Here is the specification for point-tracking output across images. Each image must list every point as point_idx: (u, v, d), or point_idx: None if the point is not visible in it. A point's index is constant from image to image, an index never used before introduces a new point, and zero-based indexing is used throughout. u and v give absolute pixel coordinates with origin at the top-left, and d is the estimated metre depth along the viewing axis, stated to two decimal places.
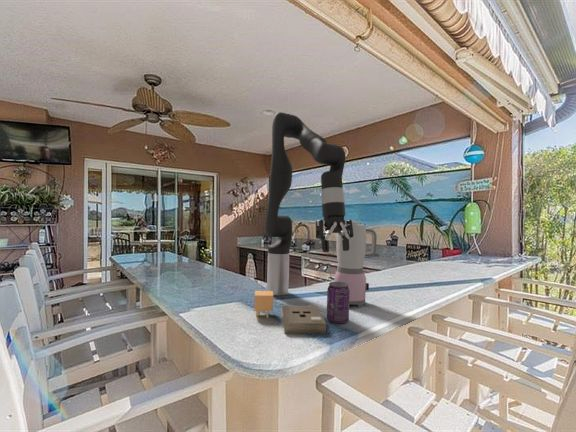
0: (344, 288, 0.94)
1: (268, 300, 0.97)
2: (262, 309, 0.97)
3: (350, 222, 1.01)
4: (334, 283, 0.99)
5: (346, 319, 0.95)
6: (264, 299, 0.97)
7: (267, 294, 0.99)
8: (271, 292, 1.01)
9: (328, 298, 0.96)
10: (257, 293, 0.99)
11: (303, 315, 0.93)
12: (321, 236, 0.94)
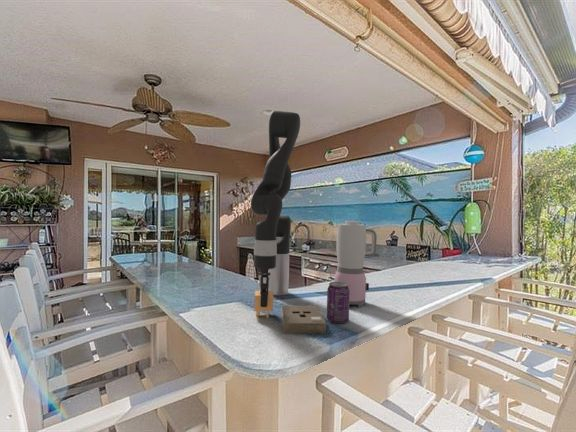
0: (344, 288, 0.94)
1: (268, 300, 0.97)
2: (262, 309, 0.97)
3: (260, 279, 0.94)
4: (334, 283, 0.99)
5: (346, 319, 0.95)
6: None
7: None
8: (271, 292, 1.01)
9: (328, 298, 0.96)
10: (257, 293, 0.99)
11: (303, 315, 0.93)
12: None
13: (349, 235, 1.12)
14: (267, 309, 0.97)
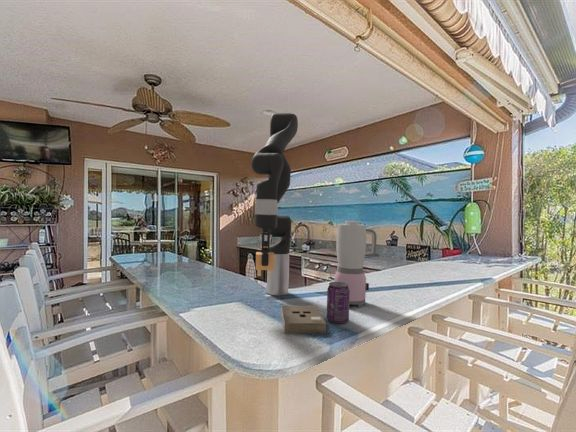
0: (344, 288, 0.94)
1: (269, 259, 0.97)
2: (263, 268, 0.97)
3: (261, 237, 0.94)
4: (334, 283, 0.99)
5: (346, 319, 0.95)
6: None
7: None
8: (272, 253, 1.01)
9: (328, 298, 0.96)
10: (258, 253, 0.99)
11: (303, 315, 0.93)
12: None
13: (349, 235, 1.12)
14: (268, 268, 0.97)
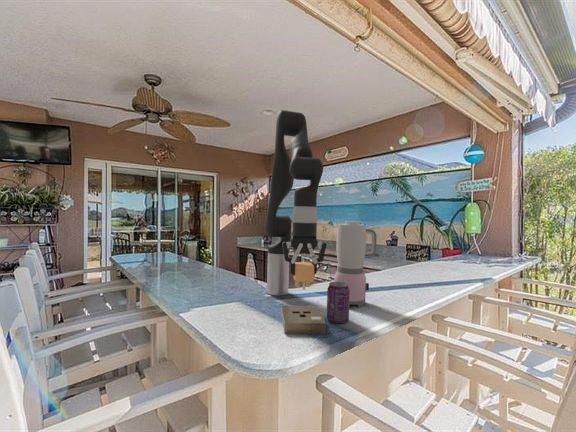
0: (344, 288, 0.94)
1: None
2: None
3: (323, 245, 0.93)
4: (334, 283, 0.99)
5: (346, 319, 0.95)
6: None
7: (307, 263, 0.95)
8: (299, 262, 0.96)
9: (328, 298, 0.96)
10: (306, 265, 0.92)
11: (303, 315, 0.93)
12: (286, 259, 0.92)
13: (349, 235, 1.12)
14: None
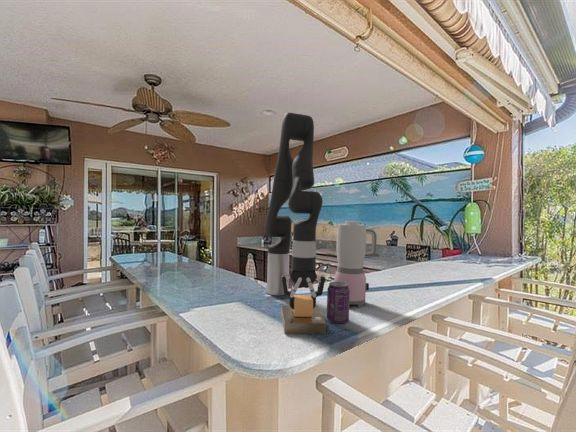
0: (344, 288, 0.94)
1: None
2: None
3: (322, 279, 0.93)
4: (334, 283, 0.99)
5: (346, 319, 0.95)
6: None
7: (306, 296, 0.95)
8: (298, 295, 0.96)
9: (328, 298, 0.96)
10: (305, 299, 0.92)
11: None
12: (285, 293, 0.92)
13: (349, 235, 1.12)
14: None
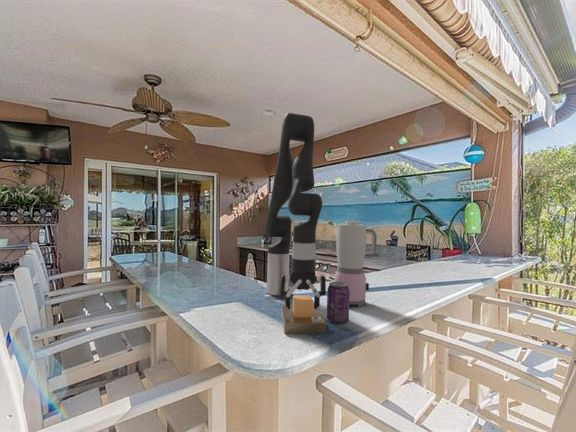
0: (344, 288, 0.94)
1: None
2: None
3: (323, 279, 0.93)
4: (334, 283, 0.99)
5: (346, 319, 0.95)
6: None
7: (306, 297, 0.95)
8: (298, 295, 0.96)
9: (328, 298, 0.96)
10: (305, 300, 0.92)
11: None
12: (281, 293, 0.92)
13: (349, 235, 1.12)
14: None
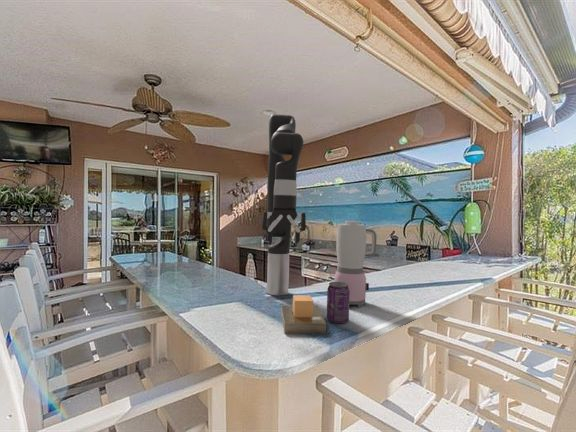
0: (344, 288, 0.94)
1: None
2: None
3: (303, 215, 0.98)
4: (334, 283, 0.99)
5: (346, 319, 0.95)
6: None
7: (306, 297, 0.95)
8: (298, 295, 0.96)
9: (328, 298, 0.96)
10: (305, 300, 0.92)
11: None
12: (263, 228, 0.97)
13: (349, 235, 1.12)
14: None
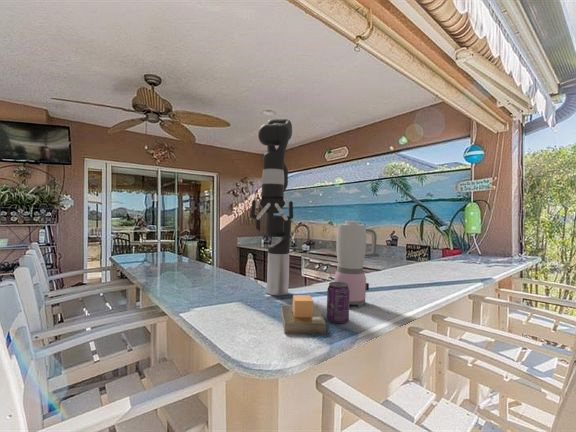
0: (344, 288, 0.94)
1: None
2: None
3: (290, 203, 1.01)
4: (334, 283, 0.99)
5: (346, 319, 0.95)
6: None
7: (306, 297, 0.95)
8: (298, 295, 0.96)
9: (328, 298, 0.96)
10: (305, 300, 0.92)
11: None
12: (251, 216, 1.00)
13: (349, 235, 1.12)
14: None
